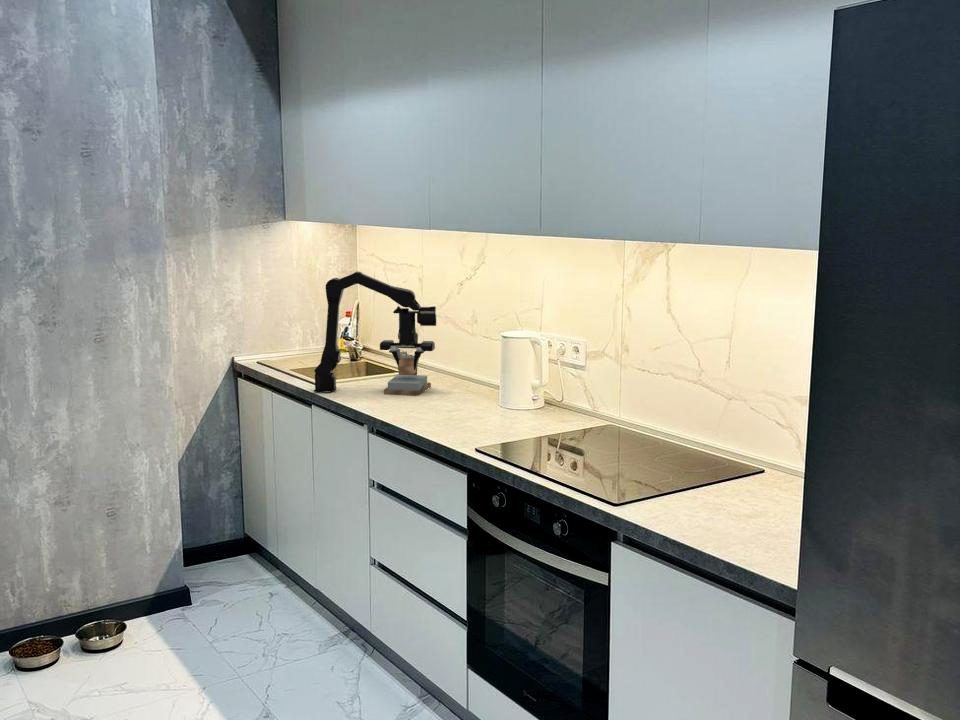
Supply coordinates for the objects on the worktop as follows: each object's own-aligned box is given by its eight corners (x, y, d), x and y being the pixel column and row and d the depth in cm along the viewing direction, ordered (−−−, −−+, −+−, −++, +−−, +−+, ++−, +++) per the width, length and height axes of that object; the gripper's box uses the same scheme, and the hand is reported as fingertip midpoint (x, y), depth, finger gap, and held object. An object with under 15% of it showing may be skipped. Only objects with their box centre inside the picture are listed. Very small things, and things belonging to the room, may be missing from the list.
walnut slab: (384, 396, 341) (383, 389, 340) (399, 387, 356) (399, 380, 356) (416, 398, 338) (416, 391, 337) (430, 389, 353) (430, 382, 353)
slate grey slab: (387, 389, 340) (387, 382, 340) (397, 381, 355) (397, 374, 354) (418, 390, 338) (418, 383, 338) (427, 382, 353) (427, 375, 353)
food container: (391, 378, 370) (390, 352, 369) (406, 377, 373) (406, 351, 371) (402, 384, 359) (402, 357, 358) (418, 382, 362) (418, 355, 360)
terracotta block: (399, 374, 344) (399, 360, 343) (402, 371, 349) (401, 357, 348) (413, 374, 343) (413, 360, 342) (415, 372, 348) (415, 358, 347)
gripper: (437, 323, 350) (437, 366, 352) (386, 322, 352) (386, 365, 355) (431, 327, 339) (432, 372, 341) (379, 326, 341) (379, 370, 344)
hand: (407, 369), depth 346 cm, fingers closed on terracotta block, 5 cm apart
